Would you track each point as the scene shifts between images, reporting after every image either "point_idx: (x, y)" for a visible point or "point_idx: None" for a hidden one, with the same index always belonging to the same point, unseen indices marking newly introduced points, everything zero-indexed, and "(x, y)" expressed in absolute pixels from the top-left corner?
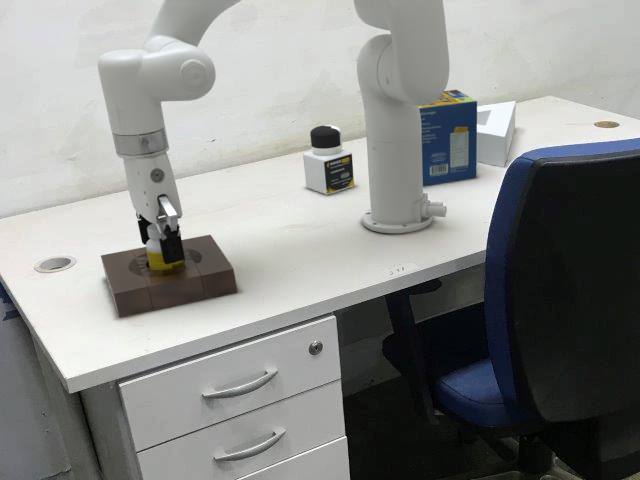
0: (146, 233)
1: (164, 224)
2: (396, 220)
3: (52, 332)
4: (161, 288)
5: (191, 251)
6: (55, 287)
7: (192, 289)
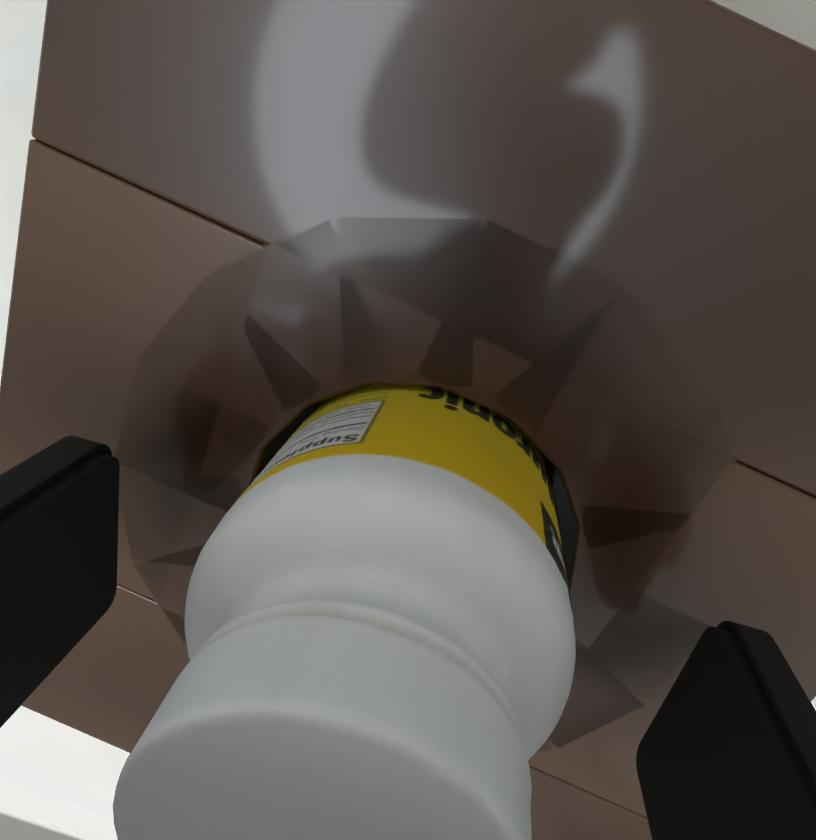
0: (40, 645)
1: (286, 805)
2: None
3: None
4: None
5: (394, 260)
6: (32, 731)
7: None
